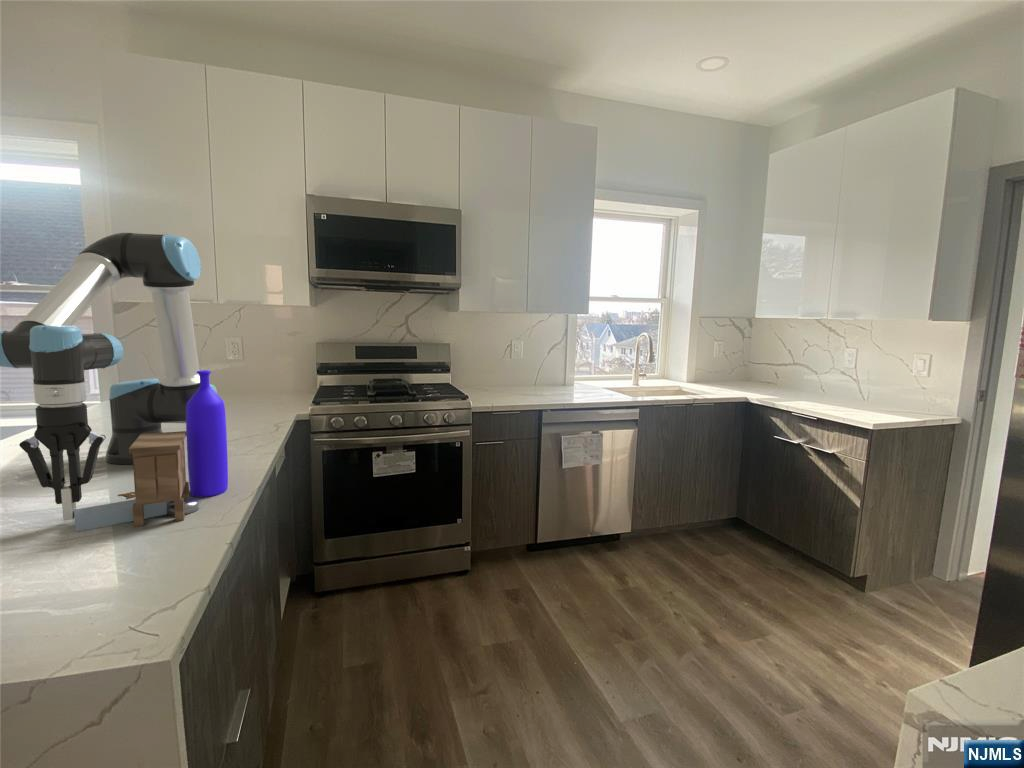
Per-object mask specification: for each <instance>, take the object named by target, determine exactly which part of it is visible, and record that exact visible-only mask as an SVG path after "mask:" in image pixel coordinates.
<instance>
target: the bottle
mask: <svg viewBox="0 0 1024 768" xmlns="http://www.w3.org/2000/svg"><path fill="white" fill-rule="evenodd" d="M212 371H213V370H207V369H206V370H200V371H197V373H198V374H199V376H200V386H199V389H198V390H197V391H196V392H195V393H194V395H193V396H192V397H191V398H190V399H189V401H188V402H187V405H186V423H185V429H186V430H185V431H186V453H187V454H186V455H187V470H188V473H187V474H188V482H189V493H190V494H191V496H193V497H194V498H208V497H215V496H218V495H222V494H223V493H226V492H227V490H228V487H229V470H228V469H229V465H228V435H227V417H226V407H225V402H224V400H223V399H222V398H221V396H219V394H218V393H217V394H216V393H215V392H214V391H213V390H212V389H211V387H210V384H211V382H210V374H212Z"/></svg>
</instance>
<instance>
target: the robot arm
mask: <svg viewBox="0 0 1024 768" xmlns="http://www.w3.org/2000/svg"><path fill="white" fill-rule="evenodd" d="M201 270H202V264H201V258H200V255H199V253H198V250H197V249H196V247H195V245H194V244H193V243H192V241H190V240H189V239H188V238H186V237H184V236H179V235H173V234H162V233H161V234H160V233H158V234H156V233H137V232H136V233H134V232H119V233H113V234H110V235H108V236H107V235H106V236H104V237H102V238H101V239H98V240H96V241H94V242H92V243H91V244H89V245H87V247H85V248H84V249H83V250H82V251H80V252H79V253H78V255H77V256H75V258H74V260H73V267H72V268H71V269H70V270H69V271H68V272H67V273H66V274H65V276H63V277H62V278H61V279H60V280H59V281H58V283H57V284H56V285H55V286H53V287H52V288H51V289H50V290H49V291H48V293H46V295H45V296H44V297H43V298H42V299H41V300H40V301H39V302H38V303H37V304H36V305H35V306H34V307H33V308H32V309H31V310H30V311H29V312H28V313H27V314H26V315H25V316H24V317H23V318H22V319H21V320H20V321H19V322H18V324H16V325H15V327H13V328H12V330H10V331H8V330H1V331H0V367H2V368H13V369H32V375H33V379H32V381H33V383H32V385H33V392H34V393H33V395H34V403H35V404H36V405H38V406H36V407H35V408H34V409H35V417H36V418H35V419H36V421H35V422H36V429H35V431H34V432H33V434H34V435H33V436H32V437H30V438H25V439H24V440H23V441H21V442H20V443H19V444H18V445H19V447H20V448H21V449H22V450H23V451H24V452H25V453H26V454H27V457H28V459H29V460H30V463H31V465H32V468H33V470H34V472H35V474H36V476H37V479H38V482H39V484H40V486H41V487H42V488H52V489H53V491H54V502H55V504H56V505H61V506H62V507H61V508H62V519H63V522H65V521H73V520H75V519H74V510H75V509H77V503H79V502H80V501H81V500H82V498H83V497H82V494H83V493H82V486H83V485H85V484H88V483H90V481H92V479H93V476H94V472H95V468H96V464H97V460H98V455H99V452H100V447H101V445H102V444H103V443H104V441H105V440H106V438H107V437H106V435H105V434H98V433H95V432H93V431H92V428H91V426H90V425H89V420H88V418H89V417H88V408H87V407H88V406H87V404H86V403H84V402H85V401H86V400H87V394H86V392H87V391H86V382H85V371H90V370H96V369H97V370H98V369H102V370H103V369H106V368H109V367H112V366H115V365H116V364H118V363H119V362H120V361H121V360H122V359H123V356H124V348H123V347H124V346H123V344H122V343H121V341H120V340H119V339H118V338H116V337H115V336H114V335H112V334H108V333H101V332H98V333H97V332H94V333H82V330H81V328H80V327H78V326H75V325H76V323H78V321H79V320H80V319H81V318H82V316H83V315H84V314H85V313H86V312H87V310H88V309H90V307H91V306H92V305H93V304H94V302H95V301H96V300H97V299H98V298H99V297H100V296H101V295H102V293H103V292H104V291H105V290H106V289H107V288H108V287H110V286H114V285H115V284H117V283H118V282H119V281H120V280H121V279H124V278H126V279H127V278H137V279H138V278H139V279H142V284H143V287H144V288H146V289H147V290H148V291H150V293H151V297H152V302H153V304H152V305H153V309H154V315H155V316H154V317H155V322H156V327H157V328H156V329H157V334H158V335H157V336H158V340H159V341H158V342H159V347H160V355H161V359H162V365H163V366H162V367H163V372H164V376H163V377H162V378H161V379H160V380H159V379H158V378H157V377H156V378H155V377H153V378H141V379H134V380H127V381H122V382H121V381H120V382H116V383H114V384H112V385H111V386H110V388H109V398H108V401H109V409H110V419H111V421H110V422H111V438H110V440H109V443H108V446H107V449H106V453H105V461H106V462H107V463H109V464H113V465H133V453H132V454H129V448H130V446H131V445H132V444H133V443H134V442H135V440H136V439H137V438H138V437H139V436H140V434H148V433H164V432H163V429H162V424H186V405H187V402H188V401H189V399H190V398H191V397H192V396H193V395H194V393H195V392H196V391H197V390H198V389H199V386H200V376H199V374H198V373H197V371H201V369H200V366H199V365H200V364H199V363H200V362H199V357H198V350H197V341H196V335H195V328H194V327H195V326H194V321H193V320H194V319H193V314H192V305H191V299H190V290H192V289H193V287H195V281H196V280H198V279H199V278H200V277H201V274H202V273H201ZM210 387H211V389H212V390H213V391H214V392H215V393H216V394H217V395H218V391H217V388H216V386H215V385H214V384H211V383H210ZM87 439H89V440H88V444H90V446H89V448H88V452H87V457H86V461H85V464H84V468H83V473H82V472H81V459H80V450H81V448H80V447H81V446H82V445H83V443H84V442H85V441H86V440H87ZM40 443H41V444H42V445H43V446H44V447H46V449H48V450H49V457H50V463H51V472H50V469H49V467H48V464H47V462H46V460H45V458H44V455H43V453H42V451H41V448H40V447H39V446H40ZM64 451H66V455H67V462H68V463H67V464H68V476H69V484H67V481H66V479H65V477H66V475H65V465H64V464H65V463H64ZM65 484H67V485H65Z"/></svg>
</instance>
